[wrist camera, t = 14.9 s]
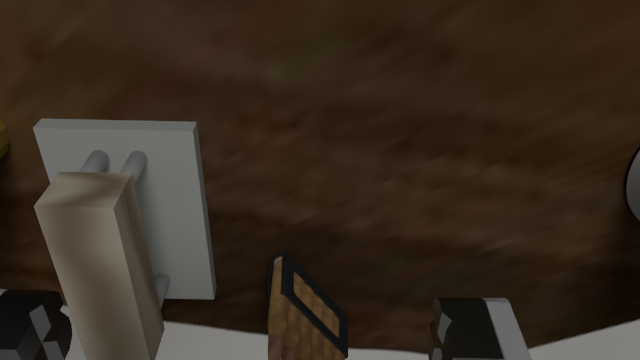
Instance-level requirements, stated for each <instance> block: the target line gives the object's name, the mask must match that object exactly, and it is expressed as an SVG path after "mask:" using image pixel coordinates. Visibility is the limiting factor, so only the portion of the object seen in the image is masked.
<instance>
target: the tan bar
mask: <svg viewBox="0 0 640 360" xmlns="http://www.w3.org/2000/svg"><path fill="white" fill-rule="evenodd" d="M34 208H35V211H36V214H37V217H38V220H39V223H40V226H41V229H42V232H43V235H44V237H45V240H46V243H47V246H48V249H49V252H50V255H51V258H52V261H53V263H54V266H55V269H56V272H57V275H58V278H59V281H60V284H61V287H62V290H63V292H64V295H65V298H66V301H67V304H68V307H69V310H70V313H71V316H72V318H73V321H74V324H75V327H76V329H77V333H78V336H79V339H80V342H81V345H82V347H83V350H84V353H85V356H86V359H87V360H155V357H156V354H157V351H158V348H159V344H160V341H161V338H162V335H163V332H164V324H163V320H162V315H161V310H160V305H159V300H158V296H157V291H156V286H155V281H154V276H153V272H152V267H151V262H150V257H149V253H148V248H147V243H146V238H145V233H144V229H143V224H142V219H141V214H140V209H139V205H138V200H137V195H136V190H135V185H134V181H133V176H132V173H96V172H59V173H58V174H57V176H56V177H55V179H54V180H53V181H52V183H51V184H50V185H49V187H48V188H47V189H46V191H45V192H44V193H43V195H42V196H41V197H40V199H39V200H38V202H37V203H36V204H35V206H34Z"/></svg>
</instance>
